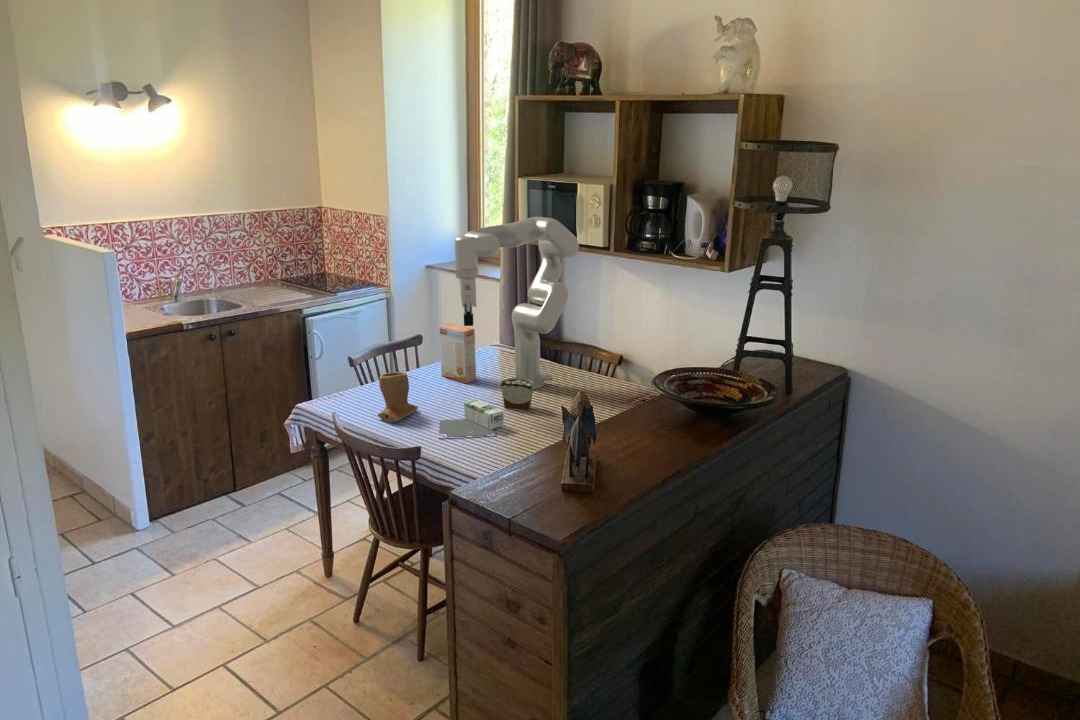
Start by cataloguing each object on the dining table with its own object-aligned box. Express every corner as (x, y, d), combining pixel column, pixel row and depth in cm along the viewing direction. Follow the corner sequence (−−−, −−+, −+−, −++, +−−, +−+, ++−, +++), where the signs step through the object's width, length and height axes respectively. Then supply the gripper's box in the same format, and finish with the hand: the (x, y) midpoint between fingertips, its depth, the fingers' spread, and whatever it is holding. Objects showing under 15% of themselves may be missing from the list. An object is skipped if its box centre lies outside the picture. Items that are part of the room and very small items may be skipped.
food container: (539, 406, 280) (539, 379, 277) (533, 412, 274) (533, 384, 271) (506, 402, 283) (506, 375, 280) (500, 408, 278) (499, 381, 275)
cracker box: (477, 380, 306) (475, 328, 300) (465, 384, 302) (463, 331, 296) (452, 373, 315) (450, 322, 309) (441, 376, 311) (438, 325, 305)
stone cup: (394, 406, 280) (391, 365, 276) (422, 410, 276) (420, 370, 271) (368, 420, 267) (365, 378, 263) (397, 425, 262) (395, 383, 258)
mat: (493, 419, 268) (493, 417, 268) (495, 436, 253) (495, 434, 253) (439, 421, 266) (439, 420, 266) (439, 439, 252) (439, 437, 251)
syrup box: (477, 398, 269) (503, 409, 259) (477, 414, 271) (504, 426, 260) (463, 402, 265) (490, 413, 255) (464, 419, 267) (490, 430, 257)
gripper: (478, 276, 261) (480, 330, 266) (477, 268, 275) (478, 319, 280) (456, 277, 260) (458, 331, 266) (455, 269, 274) (457, 320, 280)
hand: (468, 325), depth 273 cm, fingers closed
